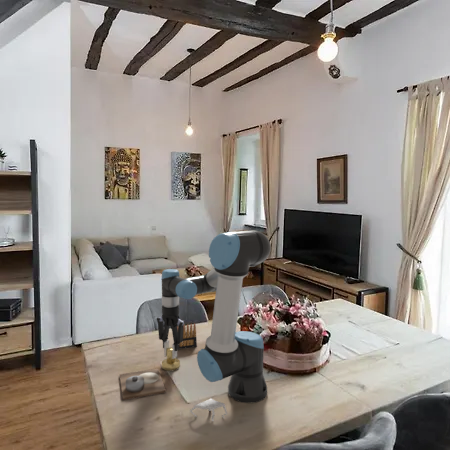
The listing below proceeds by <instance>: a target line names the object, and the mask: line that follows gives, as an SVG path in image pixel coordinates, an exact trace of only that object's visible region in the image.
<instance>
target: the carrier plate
mask: <svg viewBox="0 0 450 450" xmlns="http://www.w3.org/2000/svg"><path fill="white" fill-rule="evenodd" d="M119 382H120V389H121V395H122V401H126V400H131V399H136V398H142V397H148V396H154V395H160V394H165V393H167V390H166V386H165V384H164V382H163V379H162V376H161V372H160V370H159V368H152V369H146V370H140V371H139V370H138V371H134V372H133V371H132V372H127V373H120V374H119Z"/></svg>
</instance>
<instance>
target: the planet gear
mask: <svg viewBox="0 0 450 450" xmlns="http://www.w3.org/2000/svg"><path fill="white" fill-rule="evenodd" d="M180 368H181V360H180V359H178V358H177V357H176V358H174V359H172V347H171V346H169V348H167V356H166V358H165V359H163V360H162V361H161V369H162V370H164V371H168V372H173V371H172V370H174V371H177V370H179V369H180ZM176 369H177V370H176Z"/></svg>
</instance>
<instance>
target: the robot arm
mask: <svg viewBox="0 0 450 450" xmlns="http://www.w3.org/2000/svg"><path fill="white" fill-rule="evenodd" d="M271 246H272V245H271V242H270V239H269V238H268V237H267V235H266V234H264V233H263V232H261V231H258V230H252V229H251V230H242V231H227V232H226V231H225V232H223V233H219V234H217V235H216V236H215V237H213V239H212V240H211V242H210V244H209V249H208V258H210V260H209V261H210V264H211V265H212V267H213V268H212V269H211V270H209V271H208V272H207V273H205V274H204V275H197V276H191V277H186V278H185V277H184V278H183V277H181V276H180V271H179V269H175V268H167V269H163V270H162V271H161V313H162V314H161V315H160V316H158V317H157V318H156V321H157V327H158V330H157V331H158V340H161V341H162V349H163V350H164V353H163V354H164V355H163V356H164V357H166V358H167V348H170V340H169V332H170V329H171V332H172V334H171V335H172V340H173V343H172V345H171V346H172V359H174V358H176V359H177V357H178V351H179V350H180V349H179V344H180V343H181V342H182V341H183V327H184V324H185V325H186V321H185V320H181V319H180V299H185V300H192V299H193V298H194V297H195V296H196V295H201V294H206V293H210V292H212V293H213V292H215V295H214V296H215V297H214V303H213V304H214V307H213V315H212V322H211V331H210V335H209V336H208V337H206V339H205V346H204V348H201V349H200V350H198V352H197V356H196V360H197V366H198V369H199V370H200V372H201V375H202V376H203V377H204V378H205V379H206V380H207V381H208V382H211V383H215V382H218V381H222V380H224V379H226V378H228V377H230V378H229V379H230V380H229V381H228V386H227V392H228V395H229V397H230V398H231V399H233V400H235V401H237V402H239V403H244V404H245V403H246V404H253V403H258V402H261V401H263V400H264V399H265V398H266V397H267V395H268V386H267V383H266V379H265V376H264V350H265V347H264V338H263V337H262V336H261V335H260V334H258V333H256V332H253V331H246V330H244V331H243V330H242V331H241V330H239V331H237V325H238V324H237V323H238V319H239V309H240V302H241V297H242V296H241V294H242V289H243V282H244V281H243V280H244V278H245V277H246V276H248V275H249V269H250V267H253V268H254V267H257V266H259V265H260V264H262V263H264V262H265V261H266V260H267V259H268V257H269V256H270V254H271V248H272V247H271ZM177 326H178V330H177Z"/></svg>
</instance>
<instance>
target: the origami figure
mask: <svg viewBox="0 0 450 450" xmlns="http://www.w3.org/2000/svg"><path fill="white" fill-rule="evenodd" d="M221 407H222V408H223V410H224V412H225V413H224V414H221V417H222V418H223V419H225V416H227V415H228V410H227V407H226V404H225V403H224V402H221V401H217V400H215V399H213V398H212V397H210V398H209V399H207V400H204V401H201V402H199V403H196V404H194V405H193V407H192V408H191V409H190V410H189V413H191V414H192V415H193V416H194V418H197V414H195V413H194V412H193V411H194V410H195V409H201V410H208V412H211V414H212V415H211V422H215V421H214V418H215V415H216V413H215V409H216V410H217V409H219V408H221Z"/></svg>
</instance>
